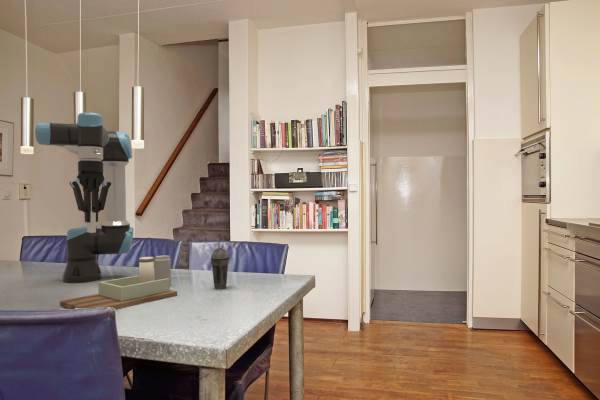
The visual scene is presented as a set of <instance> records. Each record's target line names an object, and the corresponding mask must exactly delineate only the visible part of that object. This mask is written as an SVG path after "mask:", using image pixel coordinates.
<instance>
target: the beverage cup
mask: <svg viewBox="0 0 600 400" xmlns="http://www.w3.org/2000/svg"><path fill="white" fill-rule="evenodd" d="M217 247H218V248H216V249H214V250H213V251H212V253H211V254H210V255H211V256H210V261H211V267H212V277H213V287H214V289H215V290H224V289H226V288H227V282H228V269H229V267H228V266H229V261H230V254H229V252H228V251H227V250H226V249H225V248H222V247H221V246H220V237H217ZM220 247H221V248H220Z"/></svg>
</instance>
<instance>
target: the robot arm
mask: <svg viewBox="0 0 600 400" xmlns="http://www.w3.org/2000/svg"><path fill="white" fill-rule="evenodd" d="M34 135H35V140H36V142H37V144H39V145H43V146H56V147H58V148H63V149H67V151H68V152H70V153H72V154H74V155H77V159H78V160H79V161H77V172H78V174H77V175H76V179H74V180H73V181H69V185H70V186H71V188H72V189H73V190H72V192H73V195H74V198H75V203H76V205H77V209H78V211H79V212H83V213H84V223H86V224H87V226H79V227H73V228H69V230H67V233H66V265H65V268H64V271H63V275H62V282H63V283H69V284H70V283H71V284H72V283H78V284H79V283H85V282H86V283H88V282H89V283H90V282H93V281H99V280H101V279H102V277H103V276H102V271H101V269H100V268H101V267H100V265H99V263H98V255H99V256H100V255H101V256H102V255H123V254H129V253H130V252H131V250H132V245H133V240H134V227H132V226H131V225H130V224H131V223H130V222H129V221H128V220H127V204H126V203H127V201H126V199H127V197H126V166H127V165H128V164H129V163H130V162H129V160H130V159H132V158H133V150H132V149H133V148H132V143H131V138H130V135H129V134H128V133H127V132H124V131H108V130H107V128H105V127H104V120H103V115H101V114H99V113H97V112H80V113H78V114H77V121H76V123H59V122H58V123H57V122H49V121H48V122H39V123H36V126H35V129H34ZM100 186H101V189H100ZM81 187H82V190H81ZM82 192H83V193H82ZM99 192H100V193H99ZM101 211H104V217H105V218H104V221H103V222H102V223H101V225H100V226H101V227H100V228H98V226H97V223H98V222H99V213H100V212H101Z"/></svg>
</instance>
